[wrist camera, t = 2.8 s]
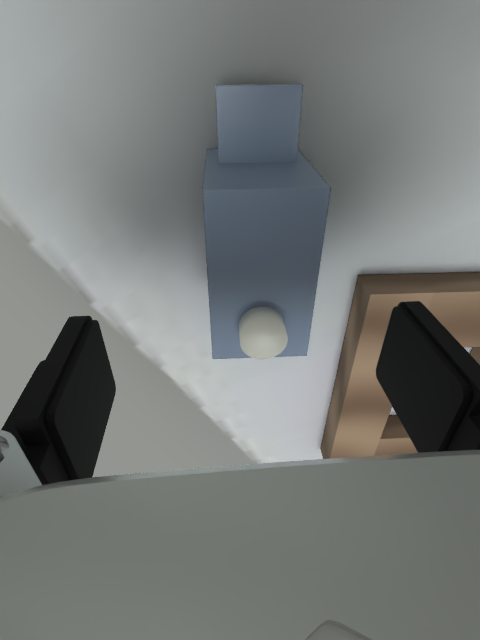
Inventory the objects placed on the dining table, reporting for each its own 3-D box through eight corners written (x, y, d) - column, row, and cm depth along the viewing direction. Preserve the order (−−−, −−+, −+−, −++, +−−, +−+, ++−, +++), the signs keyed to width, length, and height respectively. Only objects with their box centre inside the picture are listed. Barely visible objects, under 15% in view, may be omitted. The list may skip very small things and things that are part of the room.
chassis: (358, 275, 20) (370, 294, 18) (567, 269, 21) (596, 288, 19) (320, 448, 30) (326, 471, 28) (464, 441, 30) (478, 463, 28)
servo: (203, 81, 15) (194, 98, 9) (302, 80, 15) (355, 97, 9) (215, 322, 22) (214, 416, 16) (282, 320, 22) (305, 412, 16)
